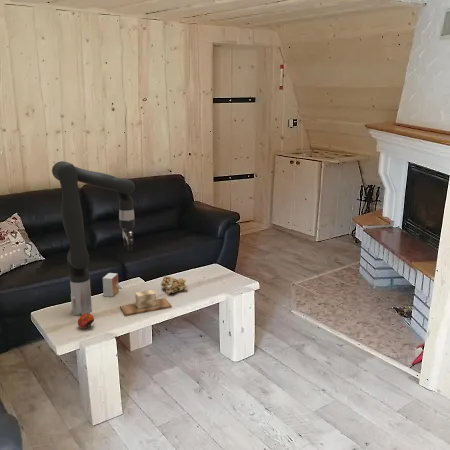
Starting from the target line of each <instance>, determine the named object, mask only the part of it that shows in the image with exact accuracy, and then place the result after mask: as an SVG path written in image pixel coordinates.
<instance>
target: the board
mask: <svg viewBox="0 0 450 450" xmlns="http://www.w3.org/2000/svg"><path fill="white" fill-rule="evenodd" d="M171 308H172V305H171V303H170V302H169V300H167V298H166V297H163V298H158V299H156V306H154V307H148V308H143V309H138V308H137V306H136V302H134V303H131V304H130V303H129V304H124V305H120V306H119V309H120V310H121V313H122V314H123V315H124V317H129V316H134V315H139V314H145V313H149V312H151V313H152V312H156V311H159V310H165V309H171Z"/></svg>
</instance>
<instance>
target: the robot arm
mask: <svg viewBox="0 0 450 450" xmlns="http://www.w3.org/2000/svg"><path fill="white" fill-rule="evenodd" d="M51 173H52V176H53V177H54V178H55V179H56V180H57V181H58V182H59V183H60V188H61V192H62V193H61V195H62V196H61V197H62V199H61V204H60V205H61V206H60V214H61V220H62V224H63V229H64V231H65V235H66V237H67V239H68V245H69V250H68V252H67V254H66V257H67V258H66V260H67V262H66V263H67V271H68V272H67V273H68V275H69V282H70V285H69V286H70V292H71V293H70V301H71V312H72V314H73V316H80V313H81V314H82V315H83V314H85V313H88V314H91V313H92V311H93V307H92V306H93V305H92V304H93V303H92V292H91V278H90V271H89V268H88V265H89V263H90V255H89V251H88V248H87V244H86V243H87V242H86V238H85V236H86V235H85V227H84V226H85V225H84V217H83V209H82V205H81V199H80V194H79V182H80V183H83V184H86V185H90V186H92V187H95V188H96V187H97V188H101V189H105V190H109V191H110V190H111V191H115V192H116V194H117V198H118V208H119V209H118V212H119V213H118V218H119V219H118V221H119V227H120V229H121V233H122V235H121V236H122V239H123V246H124V247H127V251H128V252H131V251H132V252H133V247H134V246H133V244H135V241H134V232H133V230H132V229H134V227H135V226H136V225H135V224H136V222H135V221H136V219H135V210H134V209H135V208H134V199H133V198H132V196H131V195H130V194H132V193H133V192H134V191H135V189H136V186H135V183H134V182H133V181H132V180H130V179H127V178H123V177H122V178H120V177H117V176H114V175H110V174H107V173H103V172H98V171H93V170H88V169H87V170H86V169H84V168H80V167H77V166H75V165H74V164H73V163H71V162H69V161H68V162H67V161H65V160H64V161H58V162H56V163H54V165H53V166H52V169H51Z"/></svg>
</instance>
